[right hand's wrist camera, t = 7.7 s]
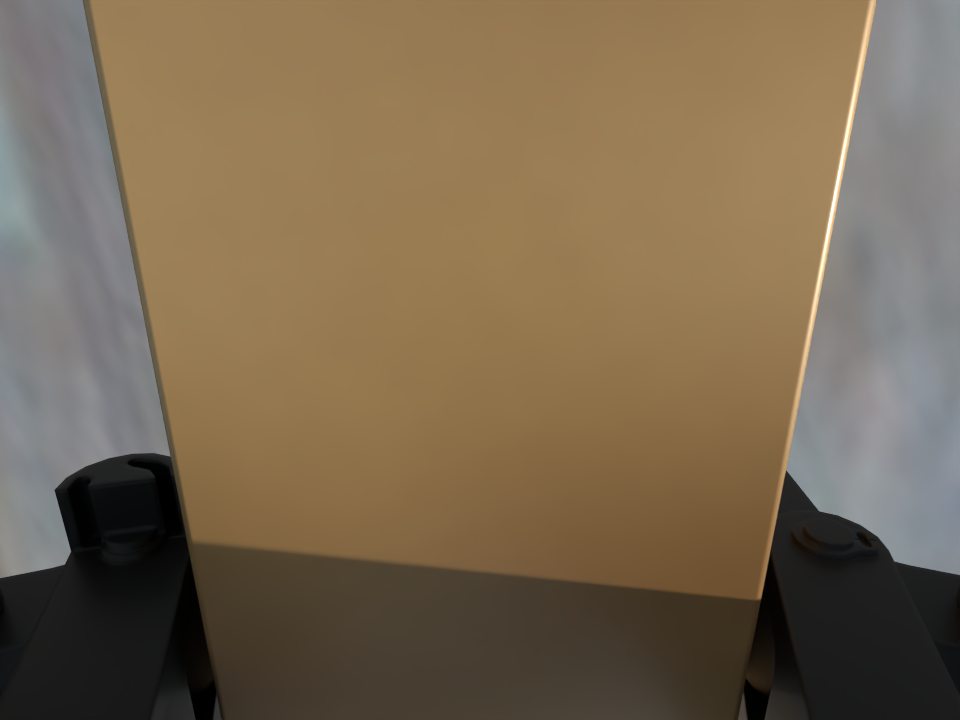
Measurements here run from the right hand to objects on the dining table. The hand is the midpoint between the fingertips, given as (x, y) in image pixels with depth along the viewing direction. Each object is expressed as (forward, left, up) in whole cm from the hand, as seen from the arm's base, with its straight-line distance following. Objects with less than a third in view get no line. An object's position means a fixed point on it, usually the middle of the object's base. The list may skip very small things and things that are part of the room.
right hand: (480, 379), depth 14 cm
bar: (+4, +7, -1) cm, 8 cm away
